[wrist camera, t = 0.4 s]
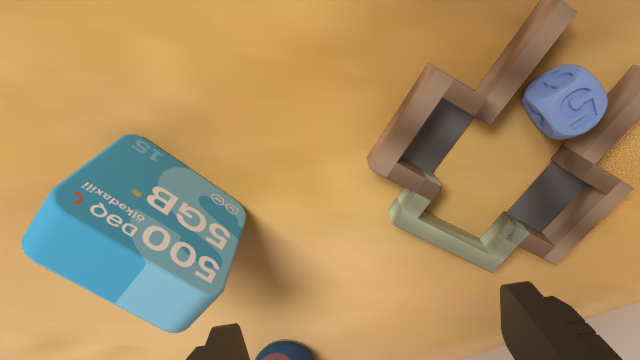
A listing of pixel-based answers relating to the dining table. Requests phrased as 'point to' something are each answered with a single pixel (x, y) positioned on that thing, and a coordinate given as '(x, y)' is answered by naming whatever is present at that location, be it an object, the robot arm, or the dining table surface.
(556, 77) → the decorative dice
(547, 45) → the trap channel
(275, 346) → the soda can
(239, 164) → the dining table surface
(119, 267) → the light blue box
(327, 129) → the dining table surface
